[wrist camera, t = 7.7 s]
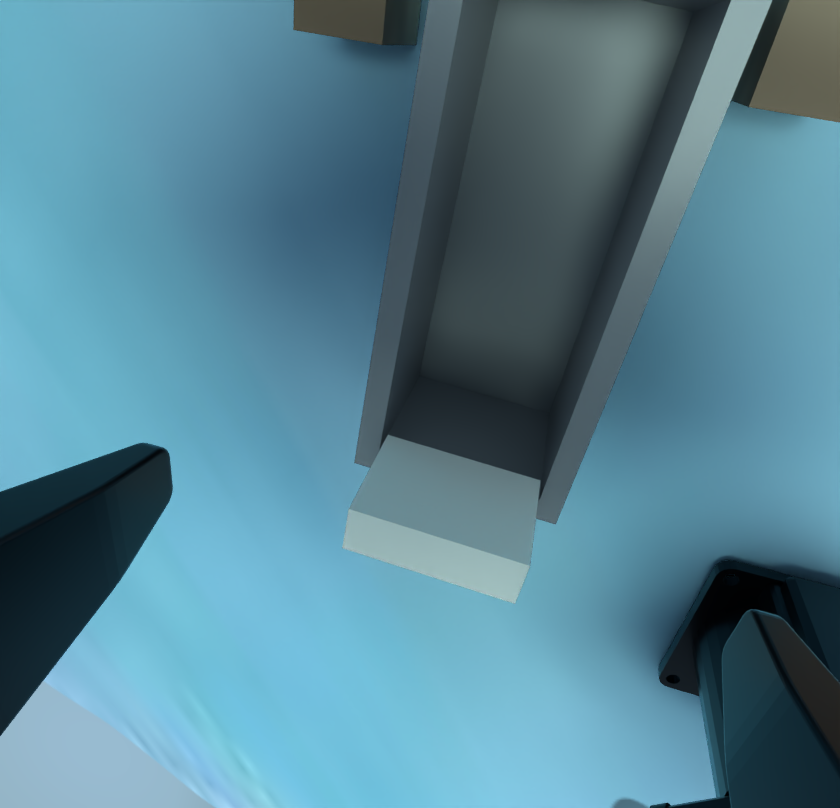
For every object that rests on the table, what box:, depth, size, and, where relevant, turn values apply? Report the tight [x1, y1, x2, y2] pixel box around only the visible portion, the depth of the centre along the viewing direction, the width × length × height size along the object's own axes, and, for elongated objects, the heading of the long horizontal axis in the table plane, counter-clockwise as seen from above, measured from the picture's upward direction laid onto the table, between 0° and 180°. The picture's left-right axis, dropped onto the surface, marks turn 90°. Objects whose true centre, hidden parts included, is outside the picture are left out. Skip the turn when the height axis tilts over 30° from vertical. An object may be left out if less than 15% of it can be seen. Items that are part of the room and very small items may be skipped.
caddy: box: [342, 0, 772, 604], centre depth 14 cm, size 12×6×8 cm, turn 170°
